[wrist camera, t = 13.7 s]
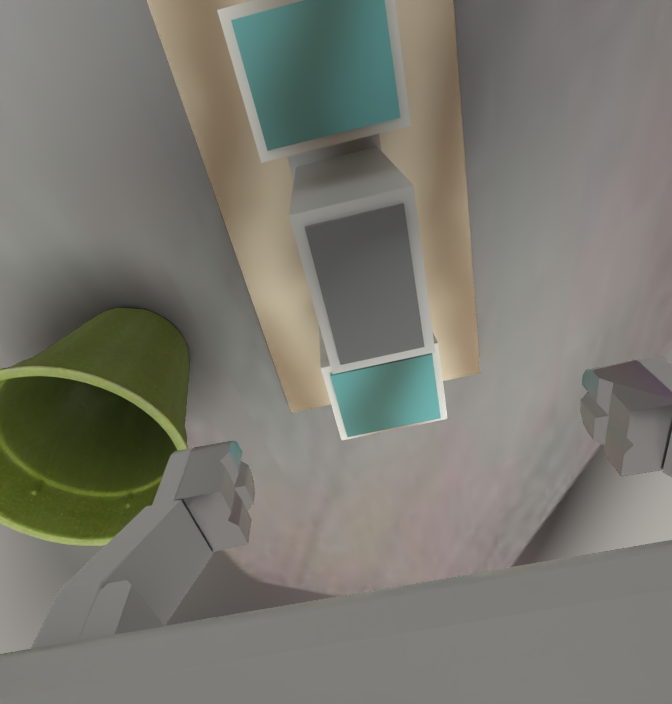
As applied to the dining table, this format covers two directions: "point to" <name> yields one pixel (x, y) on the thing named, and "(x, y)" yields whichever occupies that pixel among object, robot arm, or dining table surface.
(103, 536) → the plant pot
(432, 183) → the board
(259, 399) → the dining table surface
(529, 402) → the dining table surface
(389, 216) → the block
